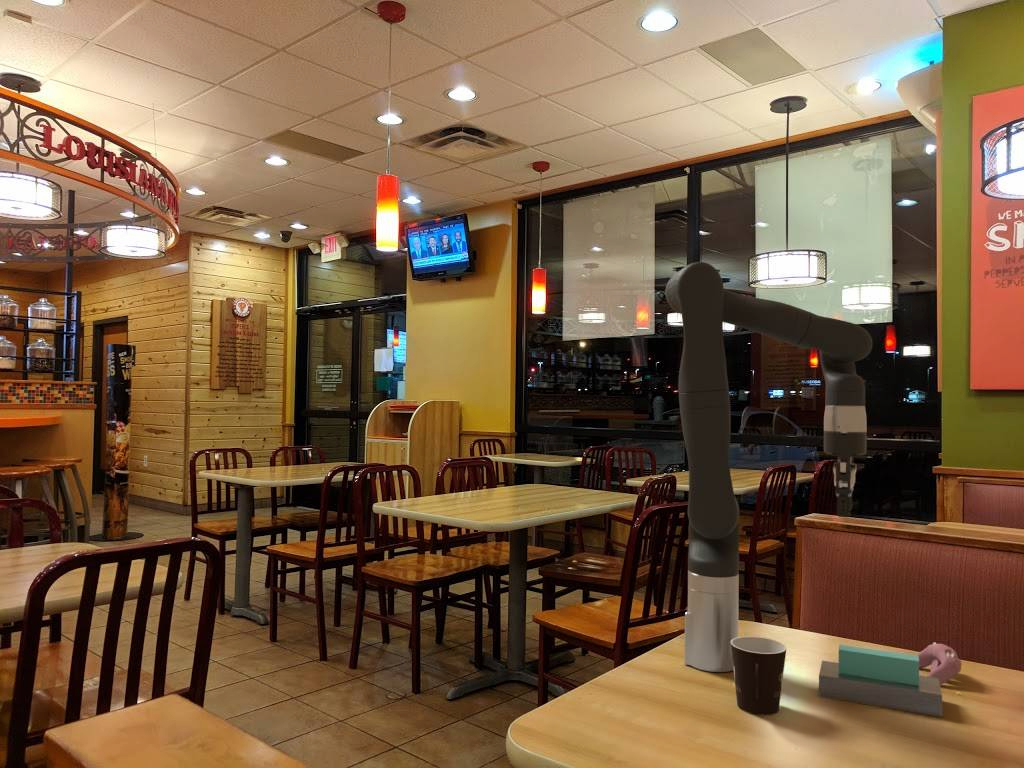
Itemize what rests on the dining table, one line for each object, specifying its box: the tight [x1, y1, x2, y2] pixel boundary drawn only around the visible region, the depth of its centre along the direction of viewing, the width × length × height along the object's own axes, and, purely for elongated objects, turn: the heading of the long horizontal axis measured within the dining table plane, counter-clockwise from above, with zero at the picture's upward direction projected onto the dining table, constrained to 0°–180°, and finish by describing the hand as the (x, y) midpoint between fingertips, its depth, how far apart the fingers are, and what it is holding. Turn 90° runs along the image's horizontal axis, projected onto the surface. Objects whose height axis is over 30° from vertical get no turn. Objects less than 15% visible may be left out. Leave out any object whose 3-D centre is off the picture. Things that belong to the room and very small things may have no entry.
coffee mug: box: [731, 635, 787, 716], centre depth 120 cm, size 12×9×10 cm
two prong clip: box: [838, 644, 920, 686], centre depth 125 cm, size 12×3×7 cm, turn 64°
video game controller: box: [915, 641, 962, 685], centre depth 135 cm, size 10×5×7 cm, turn 170°
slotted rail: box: [818, 660, 943, 718], centre depth 125 cm, size 18×8×4 cm, turn 64°
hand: (844, 513), depth 144 cm, fingers open, 8 cm apart
